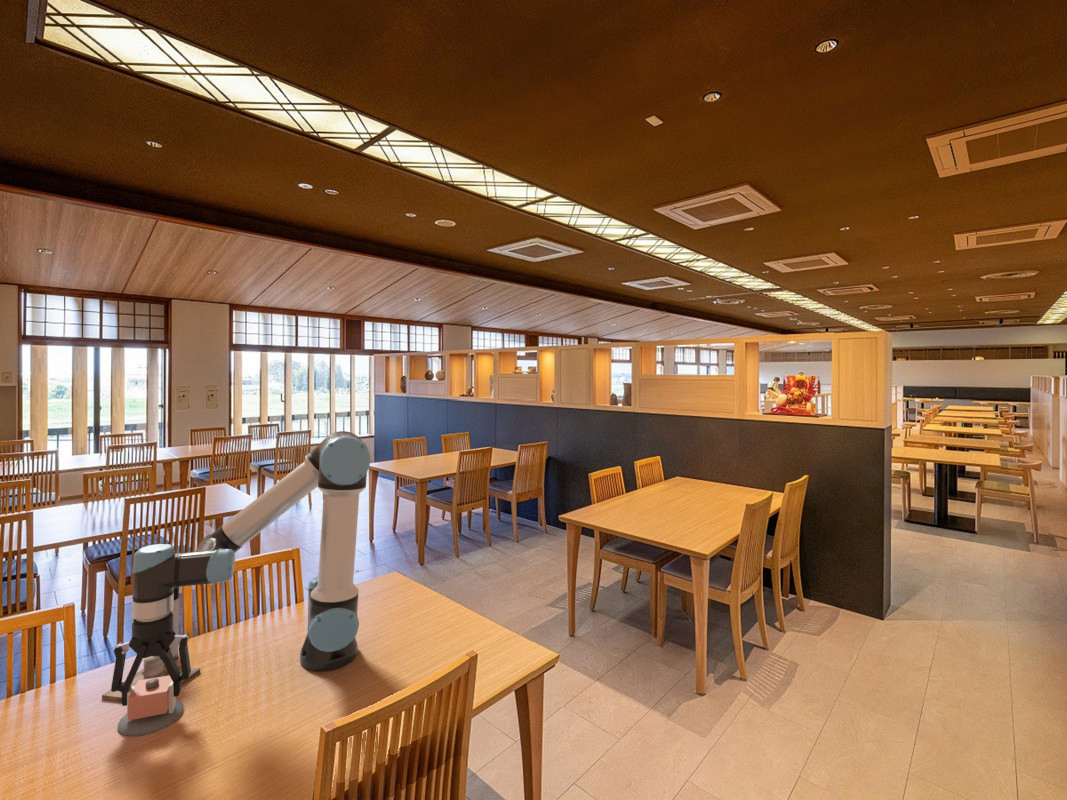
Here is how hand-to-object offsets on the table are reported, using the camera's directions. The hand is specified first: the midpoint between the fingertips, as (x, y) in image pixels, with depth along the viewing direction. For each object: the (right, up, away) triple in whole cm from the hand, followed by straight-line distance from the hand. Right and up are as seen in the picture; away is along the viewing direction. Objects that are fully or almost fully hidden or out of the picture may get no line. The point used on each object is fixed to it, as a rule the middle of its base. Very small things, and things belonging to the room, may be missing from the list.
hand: (151, 713), depth 115 cm
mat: (0, -1, 0) cm, 1 cm away
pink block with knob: (0, +1, 0) cm, 1 cm away
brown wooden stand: (-9, 0, +12) cm, 15 cm away
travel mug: (-15, 0, +24) cm, 28 cm away
